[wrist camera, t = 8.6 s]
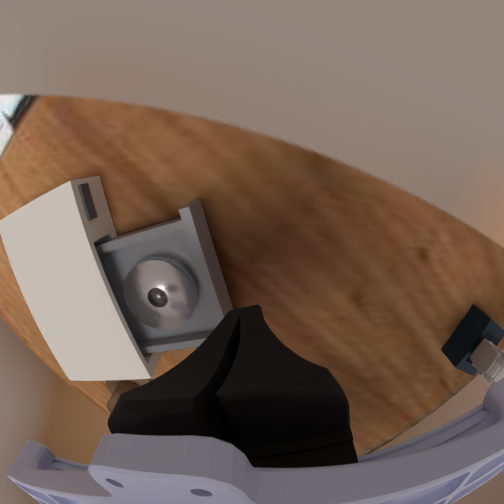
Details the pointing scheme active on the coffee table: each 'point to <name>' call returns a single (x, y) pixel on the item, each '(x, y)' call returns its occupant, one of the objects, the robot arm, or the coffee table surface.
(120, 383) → the stand
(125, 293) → the disc
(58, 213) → the player
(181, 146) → the coffee table surface
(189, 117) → the coffee table surface
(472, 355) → the watch
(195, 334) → the tray
